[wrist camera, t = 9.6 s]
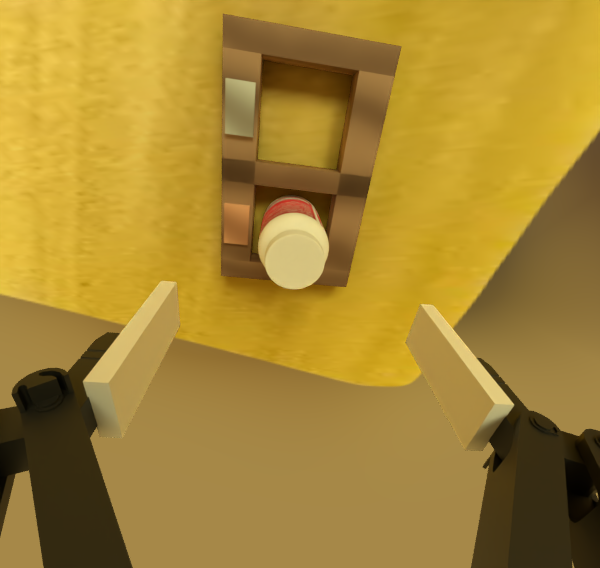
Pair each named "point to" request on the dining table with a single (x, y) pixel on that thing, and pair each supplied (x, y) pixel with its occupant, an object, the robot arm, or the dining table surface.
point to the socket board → (251, 171)
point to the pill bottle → (293, 242)
